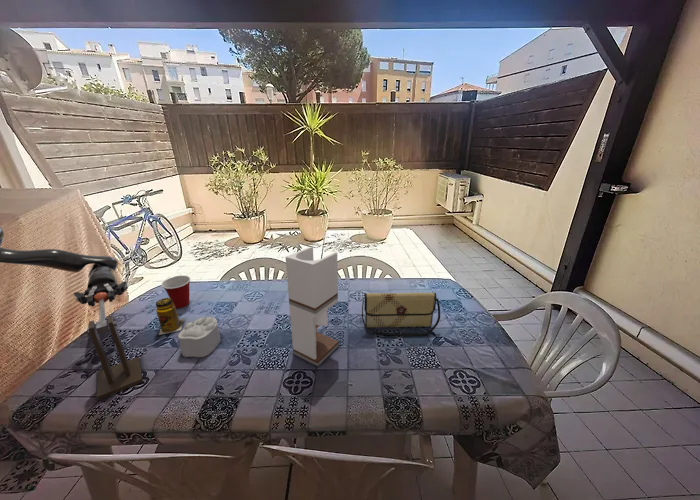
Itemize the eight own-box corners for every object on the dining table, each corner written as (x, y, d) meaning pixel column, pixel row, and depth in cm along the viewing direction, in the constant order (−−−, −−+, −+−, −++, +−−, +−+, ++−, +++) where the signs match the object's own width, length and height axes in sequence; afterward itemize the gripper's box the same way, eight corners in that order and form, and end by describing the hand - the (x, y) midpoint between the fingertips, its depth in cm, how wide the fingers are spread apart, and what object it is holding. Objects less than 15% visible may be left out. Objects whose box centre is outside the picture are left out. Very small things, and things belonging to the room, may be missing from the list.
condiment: (158, 335, 100) (150, 307, 96) (163, 323, 108) (155, 296, 104) (181, 330, 103) (174, 303, 99) (184, 318, 110) (178, 292, 106)
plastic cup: (162, 312, 114) (156, 287, 110) (173, 300, 124) (167, 276, 120) (190, 310, 116) (185, 285, 112) (198, 297, 126) (193, 274, 122)
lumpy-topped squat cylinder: (177, 356, 90) (171, 334, 87) (200, 332, 102) (196, 312, 99) (207, 357, 89) (203, 335, 86) (227, 333, 102) (223, 313, 99)
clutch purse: (361, 336, 100) (362, 301, 95) (360, 325, 107) (361, 291, 102) (441, 335, 101) (445, 300, 96) (434, 324, 107) (439, 290, 102)
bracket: (99, 374, 82) (77, 318, 76) (139, 359, 88) (123, 306, 82) (97, 400, 74) (73, 340, 67) (143, 381, 80) (124, 324, 73)
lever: (95, 301, 87) (91, 292, 85) (110, 297, 89) (106, 288, 87) (96, 337, 74) (91, 327, 72) (113, 332, 76) (109, 322, 74)
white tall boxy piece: (317, 366, 86) (313, 264, 74) (293, 353, 91) (285, 256, 80) (338, 346, 95) (337, 252, 83) (315, 335, 100) (310, 246, 89)
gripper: (71, 278, 91) (64, 298, 78) (124, 268, 99) (126, 283, 87) (78, 298, 93) (73, 320, 81) (130, 286, 102) (133, 304, 89)
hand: (101, 301), depth 84 cm, fingers closed on lever, 3 cm apart
